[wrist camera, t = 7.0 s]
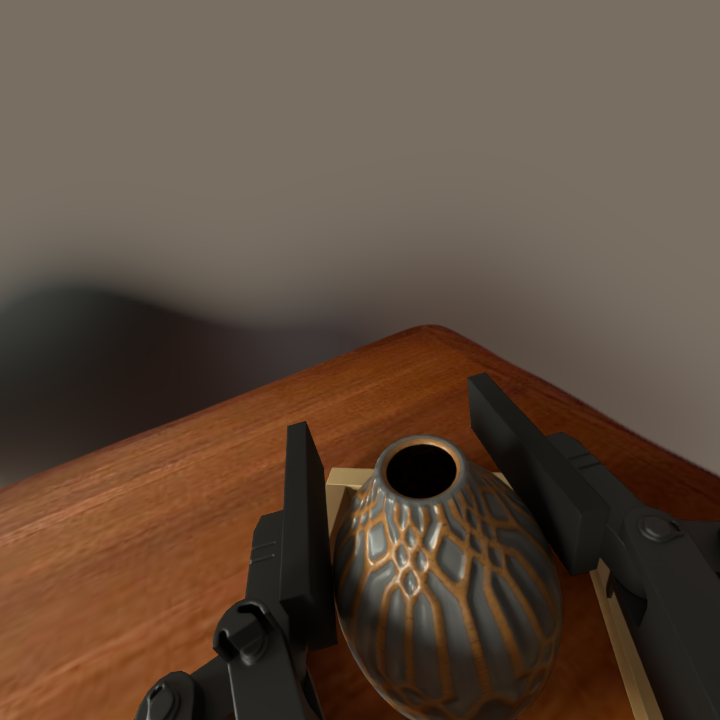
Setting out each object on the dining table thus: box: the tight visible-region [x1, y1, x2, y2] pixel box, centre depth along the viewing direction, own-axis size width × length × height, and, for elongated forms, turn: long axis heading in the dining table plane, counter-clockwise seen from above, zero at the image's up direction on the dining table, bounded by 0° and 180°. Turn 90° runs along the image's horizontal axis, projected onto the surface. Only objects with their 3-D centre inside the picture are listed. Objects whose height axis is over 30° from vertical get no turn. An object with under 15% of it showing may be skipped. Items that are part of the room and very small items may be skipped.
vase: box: [333, 435, 563, 720], centre depth 11 cm, size 7×7×9 cm
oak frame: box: [306, 468, 664, 720], centre depth 13 cm, size 13×13×1 cm
